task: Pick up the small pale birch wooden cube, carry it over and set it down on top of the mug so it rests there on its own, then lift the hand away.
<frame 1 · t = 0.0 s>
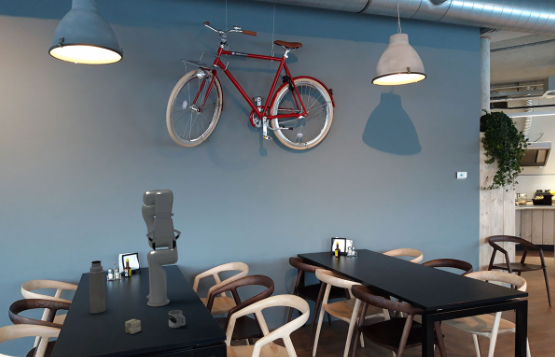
hand: (164, 249, 219), 37 cm above the table, tool pointing down, fingers open, 9 cm apart
birch cube: (133, 331, 207), on the table
mug: (178, 326, 213), on the table
thermos bottle: (97, 311, 239), on the table
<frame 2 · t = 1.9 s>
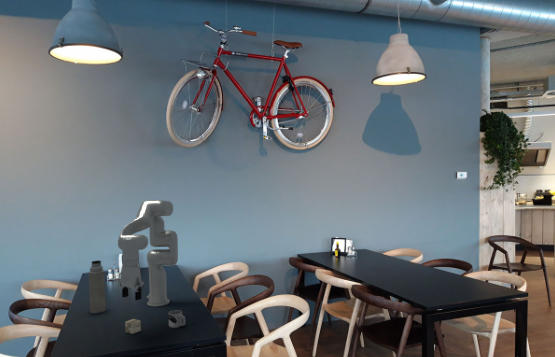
hand: (131, 298, 206), 16 cm above the table, tool pointing down, fingers open, 9 cm apart
nothing on the table moved.
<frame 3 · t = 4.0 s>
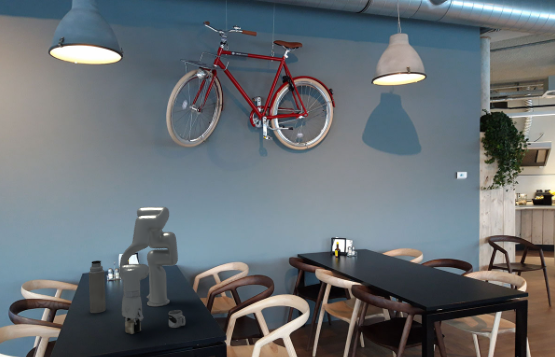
hand: (133, 330, 207), 0 cm above the table, tool pointing down, fingers closed on birch cube, 5 cm apart
birch cube: (133, 331, 207), on the table, touching gripper
everything else where it was.
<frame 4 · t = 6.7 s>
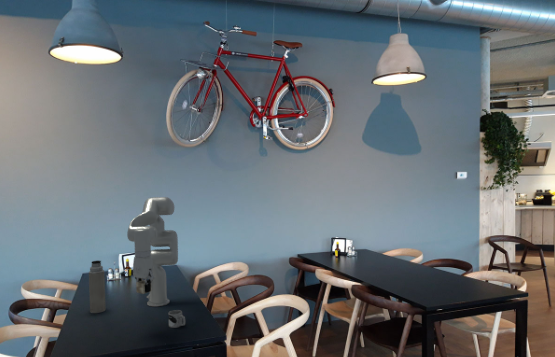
hand: (144, 290, 208), 19 cm above the table, tool pointing down, fingers closed on birch cube, 5 cm apart
birch cube: (144, 291, 208), point 19 cm above the table, touching gripper
everything else where it was.
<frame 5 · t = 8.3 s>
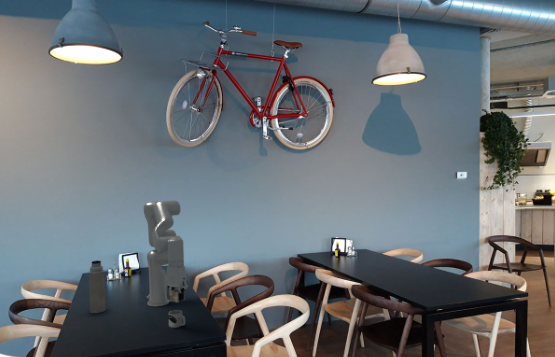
hand: (177, 299, 213), 13 cm above the table, tool pointing down, fingers closed on birch cube, 5 cm apart
birch cube: (177, 300, 213), point 13 cm above the table, touching gripper
everything else where it was.
when the fingers open (9 cm above the table, at t = 9.6 s): birch cube drops 2 cm, resting on mug.
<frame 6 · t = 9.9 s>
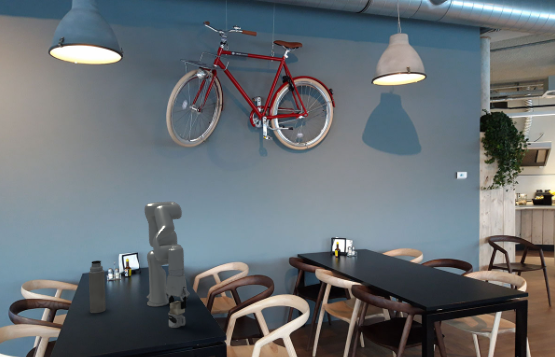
hand: (177, 307, 213), 9 cm above the table, tool pointing down, fingers open, 7 cm apart
birch cube: (177, 312, 213), point 7 cm above the table, touching mug
mug: (178, 326, 213), on the table, touching birch cube
everything else where it was.
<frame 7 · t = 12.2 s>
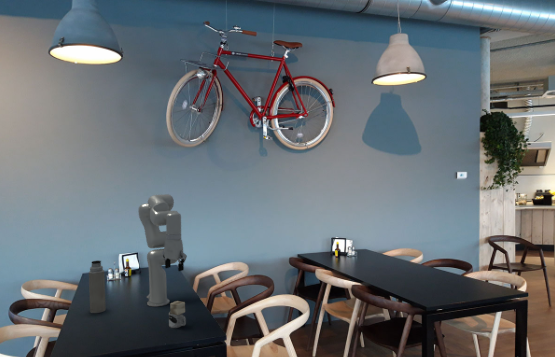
hand: (174, 269, 222), 26 cm above the table, tool pointing down, fingers open, 9 cm apart
nothing on the table moved.
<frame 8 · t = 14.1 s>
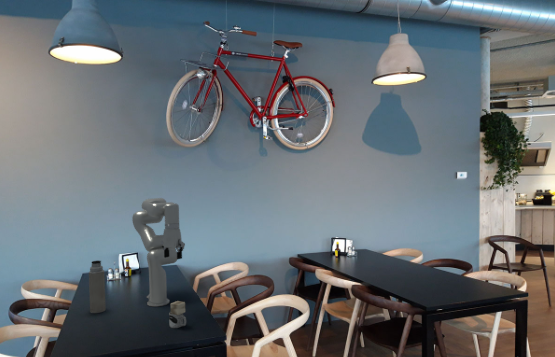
hand: (173, 258, 231), 30 cm above the table, tool pointing down, fingers open, 9 cm apart
nothing on the table moved.
at the end: birch cube inside the target area on the mug (0.3 cm from its centre), point 6.9 cm above the mug's base; birch cube tilted 0°; the gripper is holding nothing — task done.
